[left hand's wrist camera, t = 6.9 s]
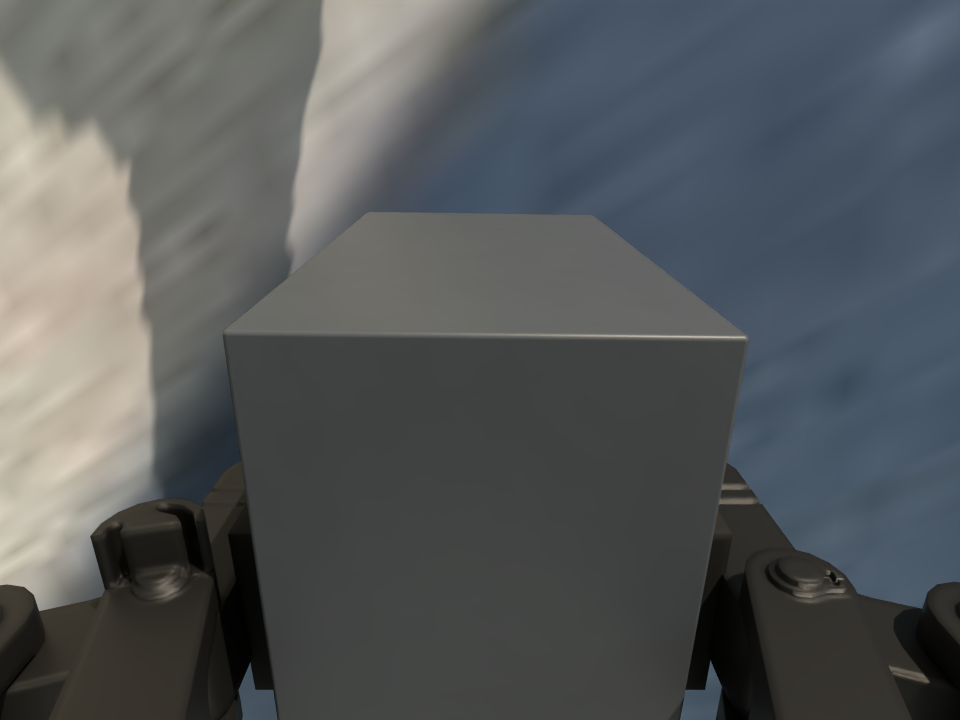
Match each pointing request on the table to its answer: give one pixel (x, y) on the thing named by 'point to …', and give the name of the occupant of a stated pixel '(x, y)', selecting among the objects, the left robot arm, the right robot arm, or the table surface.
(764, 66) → the table surface
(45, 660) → the left robot arm
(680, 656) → the beam
